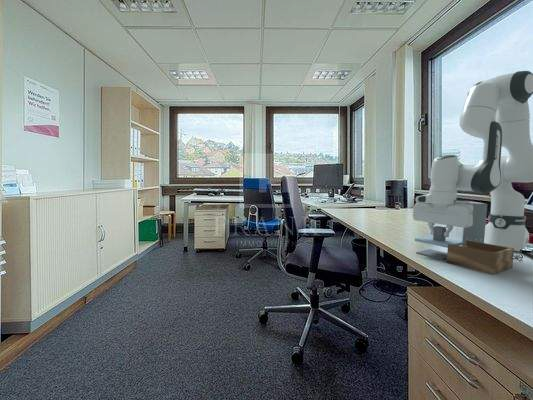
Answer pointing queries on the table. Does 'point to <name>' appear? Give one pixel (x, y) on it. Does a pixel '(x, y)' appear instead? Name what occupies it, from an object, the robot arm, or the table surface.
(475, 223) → the hard drive box
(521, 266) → the table surface
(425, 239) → the cover plate
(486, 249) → the walnut box
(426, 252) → the felt mat
